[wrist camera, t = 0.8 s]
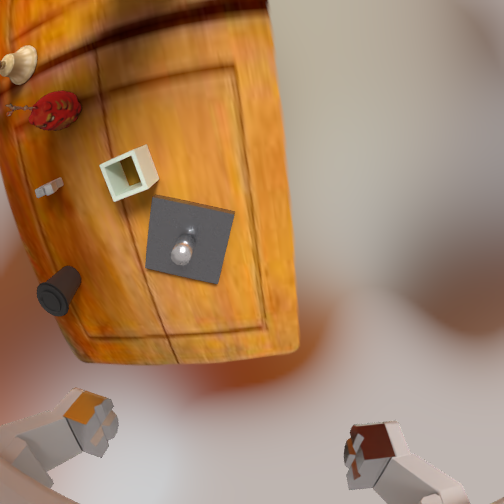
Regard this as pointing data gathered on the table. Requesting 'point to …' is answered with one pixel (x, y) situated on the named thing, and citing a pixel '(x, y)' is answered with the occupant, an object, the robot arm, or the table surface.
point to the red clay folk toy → (53, 110)
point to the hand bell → (19, 65)
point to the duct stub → (187, 238)
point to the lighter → (49, 187)
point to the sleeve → (118, 179)
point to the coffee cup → (59, 291)
